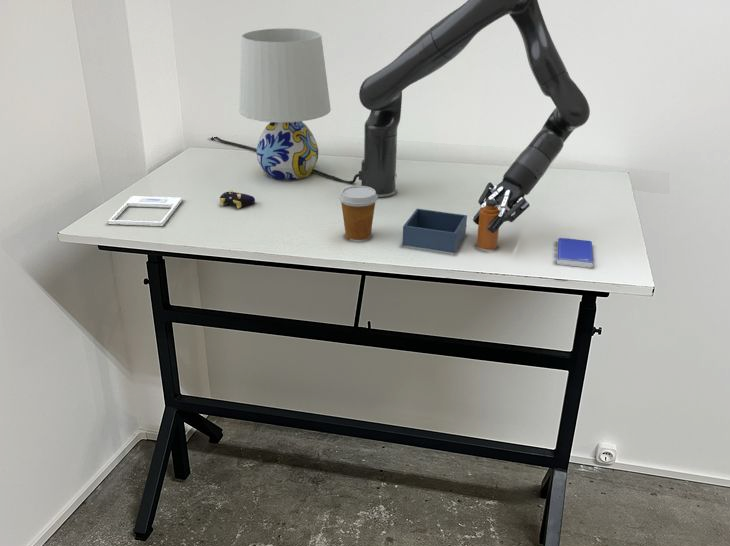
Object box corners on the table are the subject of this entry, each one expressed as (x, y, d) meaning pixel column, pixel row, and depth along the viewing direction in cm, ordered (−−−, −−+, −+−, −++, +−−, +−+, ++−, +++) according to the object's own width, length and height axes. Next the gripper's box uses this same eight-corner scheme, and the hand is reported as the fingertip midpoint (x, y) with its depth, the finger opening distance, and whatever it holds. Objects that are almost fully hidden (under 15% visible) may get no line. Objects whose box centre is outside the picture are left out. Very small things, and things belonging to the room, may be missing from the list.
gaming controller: (257, 198, 201) (248, 189, 196) (251, 216, 200) (241, 207, 195) (228, 193, 205) (218, 184, 199) (222, 210, 204) (212, 201, 198)
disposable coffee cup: (348, 247, 177) (348, 201, 170) (333, 232, 184) (333, 188, 177) (383, 240, 180) (384, 195, 173) (367, 226, 187) (367, 182, 181)
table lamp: (283, 153, 238) (276, 24, 217) (349, 169, 225) (348, 32, 203) (226, 176, 220) (212, 36, 198) (294, 194, 207) (286, 47, 185)
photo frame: (181, 197, 202) (161, 221, 187) (182, 200, 202) (162, 225, 187) (131, 195, 203) (107, 220, 188) (132, 199, 203) (108, 223, 188)
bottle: (474, 248, 175) (478, 203, 169) (478, 240, 179) (483, 196, 173) (494, 251, 174) (499, 206, 167) (498, 243, 178) (503, 199, 171)
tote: (402, 247, 177) (403, 226, 174) (415, 228, 186) (416, 208, 183) (454, 255, 173) (455, 233, 170) (465, 235, 182) (467, 215, 179)
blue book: (593, 262, 166) (592, 240, 176) (557, 258, 168) (558, 237, 178) (592, 268, 167) (591, 246, 177) (556, 264, 169) (557, 243, 179)
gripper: (500, 153, 174) (456, 209, 175) (540, 170, 163) (494, 229, 165) (514, 170, 179) (472, 224, 180) (554, 188, 168) (509, 245, 170)
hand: (482, 226), depth 173 cm, fingers closed on bottle, 5 cm apart
